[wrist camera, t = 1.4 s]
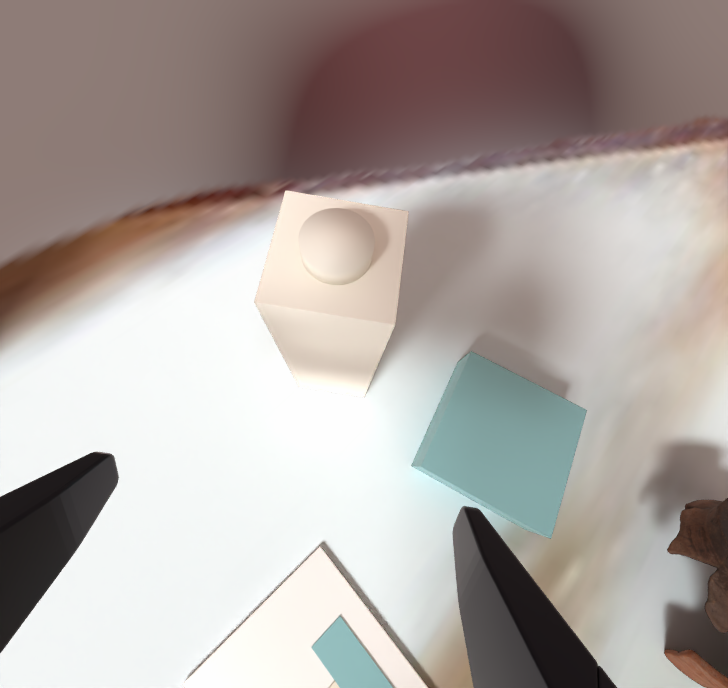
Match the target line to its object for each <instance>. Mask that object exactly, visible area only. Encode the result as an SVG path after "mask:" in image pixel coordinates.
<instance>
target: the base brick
mask: <svg viewBox="0 0 728 688" xmlns="http://www.w3.org/2000/svg"><path fill="white" fill-rule="evenodd" d="M586 412H587V410H586V409H584V408H582V407H580V406H578V405H576V404H574V403H572V402H570V401H568V400H566V399H564V398H562V397H560V396H558V395H556V394H554V393H552V392H550V391H548V390H546V389H544V388H543V387H541V386H539V385H537V384H535V383H533V382H531V381H529V380H527V379H525V378H523V377H521V376H519V375H517V374H515V373H513V372H511V371H509V370H507V369H505V368H503V367H501V366H500V365H498V364H496V363H494V362H492V361H490V360H488V359H486V358H484V357H482V356H480V355H478V354H476V353H474V352H472V351H471V352H470V353H468V354H467V355H466V356H465V357H463V358H462V359H461V360H460V361H459V362H458V363H457V365H456V367H455V369H454V372H453V374H452V376H451V378H450V381H449V383H448V385H447V387H446V389H445V392H444V394H443V396H442V398H441V401H440V403H439V405H438V407H437V410H436V412H435V414H434V416H433V419H432V421H431V423H430V425H429V427H428V430H427V432H426V434H425V436H424V439H423V441H422V443H421V445H420V448H419V450H418V452H417V454H416V456H415V459H414V461H413V463H412V465H411V466H412V467H414V468H416V469H418V470H419V471H421V472H423V473H425V474H426V475H428V476H430V477H432V478H434V479H435V480H437V481H439V482H441V483H443V484H444V485H446V486H448V487H450V488H452V489H453V490H455V491H457V492H459V493H461V494H462V495H464V496H466V497H468V498H470V499H471V500H473V501H475V502H477V503H479V504H480V505H482V506H484V507H486V508H488V509H489V510H491V511H493V512H495V513H497V514H498V515H500V516H502V517H504V518H505V519H507V520H509V521H511V522H513V523H514V524H516V525H518V526H520V527H522V528H523V529H525V530H528V531H531V532H533V533H536V534H539V535H542V536H545V537H547V538H550V539H551V537H552V533H553V530H554V526H555V522H556V519H557V515H558V512H559V508H560V505H561V501H562V497H563V494H564V490H565V487H566V483H567V480H568V476H569V472H570V469H571V465H572V462H573V458H574V455H575V451H576V447H577V444H578V440H579V437H580V433H581V430H582V426H583V423H584V419H585V415H586Z"/></svg>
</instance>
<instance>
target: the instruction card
mask: <svg viewBox="0 0 728 688" xmlns="http://www.w3.org/2000/svg"><path fill="white" fill-rule="evenodd" d="M183 686H184V688H428V686H427V685H426V684H425V682H424V681H423V680H422V678H421V677H420V676H419V674H418V673H417V672H416V670H415V669H414V668H413V667H412V665H411V664H410V663H409V661H408V660H407V659H406V657H405V656H404V655H403V653H402V652H401V651H400V650H399V648H398V647H397V646H396V644H395V643H394V642H393V640H392V639H391V638H390V636H389V635H388V634H387V633H386V631H385V630H384V629H383V627H382V626H381V625H380V623H379V622H378V621H377V619H376V618H375V617H374V616H373V614H372V613H371V612H370V610H369V609H368V608H367V606H366V605H365V604H364V602H363V601H362V600H361V598H360V597H359V596H358V595H357V593H356V592H355V591H354V589H353V588H352V587H351V585H350V584H349V583H348V581H347V580H346V579H345V578H344V576H343V575H342V574H341V572H340V571H339V570H338V568H337V567H336V566H335V564H334V563H333V562H332V561H331V559H330V558H329V557H328V555H327V554H326V553H325V551H324V550H323V549H322V547H321V546H320V547H319V548H318V549H317V550H316V551H315V552H314V553H313V554H312V555H311V556H310V557H309V558H308V559H307V560H306V561H305V562H304V563H303V564H302V565H301V566H300V567H299V568H298V569H297V570H296V571H295V572H294V573H293V574H292V575H291V576H290V577H289V578H288V579H287V580H286V581H285V582H284V583H283V584H282V585H281V586H280V587H279V588H278V589H277V590H276V591H275V592H274V593H273V594H272V595H271V596H270V597H269V598H268V599H267V600H266V601H265V602H264V603H263V604H262V605H261V606H260V607H259V608H258V609H257V610H256V611H255V612H254V613H253V614H252V615H251V616H250V617H249V618H248V619H247V620H246V621H245V622H244V623H243V624H242V625H241V626H240V627H239V628H238V629H237V630H236V631H235V632H234V633H233V634H232V635H231V636H230V637H229V638H228V639H227V640H226V641H225V642H224V643H223V644H222V645H221V646H220V647H219V648H218V649H217V650H216V651H215V652H214V653H213V654H212V655H211V656H210V657H209V658H208V659H207V660H206V661H205V662H204V663H203V664H202V665H201V666H200V667H199V668H198V669H197V670H196V671H195V672H194V673H193V674H192V675H191V676H190V677H189V678H188V679H187V680H186V681H185V682H184V683H183Z"/></svg>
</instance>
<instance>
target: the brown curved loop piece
mask: <svg viewBox="0 0 728 688" xmlns="http://www.w3.org/2000/svg"><path fill="white" fill-rule="evenodd" d="M680 521H681V524H680V531H679V533H678V535H677V537H676V538H675V539H674V540H673V541H672V542H671V544H670V545H669V547H668V549H667V551H668V552H669V553H670V554H680V555H683V556H687V557H690V558H692V559H695V560H698V561H701V562H703V563H706V564H709V565H711V566H714V567H716V568H717V571H716V572H715V573H714V574H712V575H711V576H710V578H709V581H708V599H707V602H706V604H705V611H706V613H707V615H708V617H709V619H710V620H711V622H712V624H713V626H714V627H715V628H716V629H717V630H718V631H719V632H722V633H725V632H728V498H727V499H725V500H724V501H723V502H722V501H716V500H696V501H693V502H691V503H688V504H686V505H685V510H683V511H682V512H681V515H680ZM664 653H665V655H666V657H667V658H668V659H669V660H670V661H671V662H672V663H673V664H674V665H675V666H676V667H677V668H678V669H679V670H680V671H682V672H683V673H684V674H685V675H687V676H688V677H689V678H691V679H692V680H694V681H695V682H697V683H698V684H700V685H702V686H703V687H706V688H728V678H727V677H726V676H724V675H723V674H721V673H720V672H719V671H718V670H716V669H715V668H714V667H712V666H711V665H710V664H709V663H708V662H707V661H705V660H704V659H703V658H702V657H701V656H700V655H698V654H697V653H696V652H695V651H693V650H690V649H688V650H684V651H682V652H678V651H676V650H671V649H666V650H665V652H664Z"/></svg>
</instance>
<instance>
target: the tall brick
mask: <svg viewBox="0 0 728 688" xmlns="http://www.w3.org/2000/svg"><path fill="white" fill-rule="evenodd" d="M408 214H409V211H403V210H397V209H391V208H385V207H379V206H373V205H368V204H362V203H356V202H350V201H344V200H338V199H332V198H326V197H321V196H315V195H309V194H303V193H297V192H291V191H285V194H284V198H283V201H282V205H281V208H280V212H279V216H278V219H277V223H276V226H275V230H274V233H273V237H272V240H271V244H270V248H269V251H268V255H267V258H266V262H265V265H264V269H263V272H262V276H261V280H260V283H259V287H258V290H257V294H256V297H255V301H254V303H255V305H256V307H257V308H258V310H259V312H260V314H261V316H262V318H263V320H264V322H265V324H266V326H267V327H268V329H269V331H270V333H271V335H272V337H273V339H274V341H275V343H276V345H277V346H278V348H279V350H280V352H281V354H282V356H283V358H284V360H285V362H286V364H287V365H288V367H289V369H290V371H291V373H292V375H293V377H294V379H295V381H296V382H297V384H298V386H299V387H302V388H308V389H315V390H321V391H328V392H334V393H341V394H347V395H353V396H360V397H364V396H365V394H366V392H367V389H368V387H369V385H370V382H371V380H372V378H373V375H374V373H375V371H376V368H377V366H378V364H379V362H380V359H381V357H382V355H383V352H384V350H385V348H386V345H387V343H388V341H389V338H390V336H391V334H392V331H393V329H394V327H395V323H396V315H397V307H398V298H399V290H400V282H401V273H402V265H403V256H404V248H405V240H406V231H407V223H408Z"/></svg>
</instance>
